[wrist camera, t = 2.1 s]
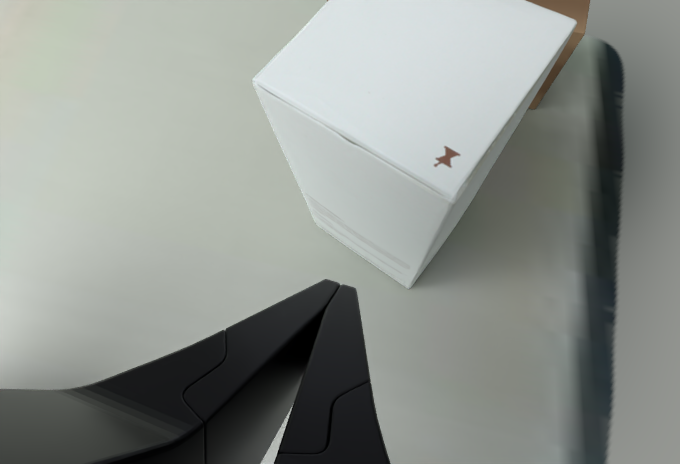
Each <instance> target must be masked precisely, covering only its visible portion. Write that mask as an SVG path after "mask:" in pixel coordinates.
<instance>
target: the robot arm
mask: <svg viewBox="0 0 680 464" xmlns="http://www.w3.org/2000/svg"><path fill="white" fill-rule="evenodd" d="M370 382H371V380H370V374H369V367H368V361H367V354H366V348H365V341H364V335H363V328H362V322H361V315H360V309H359V302H358V296H357V290H356V289H355V288H354V287H350V286H347V285H344V284H342V285H341V286H340V284H339V283H337V282H334V281H331V280H328V279H325V280H323V281H321V282H319V283H317V284H315V285H313V286H311V287H309V288H307V289H305V290H303V291H301V292H299V293H297V294H295V295H293V296H291V297H289V298H287V299H285V300H283V301H281V302H278V303H276V304H274V305H272V306H270V307H268V308H266V309H264V310H262V311H260V312H258V313H256V314H254V315H252V316H250V317H248V318H246V319H244V320H242V321H240V322H238V323H236V324H234V325H232V326H230V327H228V328H226V330H222V331H220V332H218V333H216V334H214V335H212V336H210V337H208V338H205V339H203V340H201V341H199V342H197V343H195V344H193V345H190V346H188V347H186V348H183V349H181V350H179V351H176V352H174V353H171V354H169V355H166V356H164V357H161V358H159V359H156V360H154V361H151V362H148V363H146V364H143V365H141V366H138V367H136V368H133V369H130V370H128V371H125V372H123V373H120V374H117V375H115V376H112V377H110V378H107V379H105V380H102V381H99V382H96V383H93V384H90V385H86V386H82V387H78V388H72V389H64V390H25V389H0V464H260V463H261V461H262V460H263V458H264V456H265V454H266V452H267V451H268V449H269V447H270V445H271V443H272V441H273V440H274V438H275V436H276V434H277V432H278V431H279V429H280V427H281V425H282V423H283V422H284V420H285V418H286V416H287V414H288V412H289V411H290V409H291V407H292V405H293V407H292V410H291V413H290V416H289V419H288V422H287V425H286V428H285V432H284V435H283V438H282V441H281V444H280V447H279V450H278V453H277V457H276V459H275V462H274V464H390V461H389V457H388V454H387V451H386V448H385V444H384V441H383V437H382V433H381V430H380V426H379V422H378V419H377V414H376V408H375V403H374V398H373V392H372V386H371V383H370ZM293 403H294V404H293Z"/></svg>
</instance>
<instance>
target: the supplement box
mask: <svg viewBox="0 0 680 464" xmlns="http://www.w3.org/2000/svg"><path fill="white" fill-rule="evenodd" d="M576 25H577V22H576V20H574V19H572V18H569V17H567V16H565V15H562V14H560V13H557V12H554V11H552V10H549V9H546V8H544V7H541V6H539V5H536V4H534V3H531V2H528V1H526V0H328V2H327V3H326V4H325V5H324V6H323V7H322V8H321V9H320V10H319V11H318V12H317V13H316V14H315V16H314V17H313V18H312V19H311V20H310V21H309V22H308V23H307V24H306V25H305V26H304V27H303V29H302V30H301V31H300V32H299V33H298V34H297V35H296V36H295V37H294V38H293V39H292V40H291V41H290V42H289V43H287V44H286V45H285V46H284V47H283V48H282V49H281V50H280V51H279V52H278V53H277V54H276V55H275V56H274V57H273V59H272V60H271V61H270V62H269V63H268V64H267V65H266V66H265V67H264V68H263V69H262V70H261V71H260V72H259V73H258V74H257V75H256V76H254V78H253V79H252V84H253V86H254V88H255V90H256V92H257V95H258V97H259V99H260V102H261V104H262V106H263V109H264V111H265V113H266V115H267V117H268V120H269V122H270V124H271V126H272V129H273V131H274V133H275V135H276V137H277V140H278V142H279V144H280V146H281V148H282V150H283V153H284V155H285V157H286V159H287V161H288V163H289V166H290V168H291V170H292V172H293V174H294V177H295V179H296V181H297V183H298V185H299V188H300V190H301V192H302V194H303V196H304V198H305V201H306V203H307V205H308V208H309V210H310V212H311V214H312V217H313V219H314V221H315V224H316V225H317V226H319V227H320V228H322V229H323V230H324V231H326V232H327V233H328V234H330V235H331V236H332V237H334V238H335V239H337V240H338V241H340V242H341V243H342V244H344V245H345V246H347V247H348V248H350V249H351V250H352V251H354V252H355V253H357V254H358V255H360V256H361V257H363V258H364V259H365V260H367V261H368V262H370V263H371V264H373V265H374V266H376V267H377V268H378V269H380V270H381V271H383V272H384V273H386V274H387V275H389V276H390V277H391V278H393V279H394V280H396V281H397V282H399V283H400V284H402V285H403V286H404V287H406V288H407V289H410V288H411V287H412V285H413V284H414V283H415V281H416V280H417V279H418V277H419V276H420V275H421V273H422V272H423V271H424V269H425V268H426V266H427V265H428V264H429V262H430V261H431V260H432V258H433V257H434V256H435V254H436V253H437V252H438V250H439V249H440V247H441V246H442V245H443V243H444V242H445V240H446V239H447V238H448V236H449V235H450V233H451V232H452V230H453V229H454V228H455V226H456V225H457V223H458V222H459V220H460V219H461V217H462V216H463V214H464V212H465V211H466V209H467V208H468V206H469V205H470V203H471V202H472V200H473V198H474V197H475V195H476V193H477V192H478V190H479V188H480V186H481V185H482V183H483V181H484V180H485V178H486V176H487V175H488V173H489V171H490V170H491V168H492V167H493V165H494V163H495V162H496V160H497V158H498V157H499V155H500V153H501V152H502V150H503V148H504V147H505V145H506V144H507V142H508V140H509V139H510V137H511V135H512V134H513V132H514V131H515V129H516V127H517V126H518V124H519V122H520V121H521V119H522V117H523V116H524V114H525V112H526V111H527V109H528V107H529V106H530V104H531V102H532V101H533V99H534V97H535V96H536V94H537V92H538V91H539V89H540V87H541V86H542V84H543V82H544V81H545V79H546V77H547V76H548V74H549V72H550V71H551V69H552V67H553V66H554V64H555V62H556V61H557V59H558V57H559V55H560V54H561V52H562V50H563V49H564V47H565V45H566V44H567V42H568V40H569V38H570V36H571V35H572V33H573V31H574V29H575V27H576Z"/></svg>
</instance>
